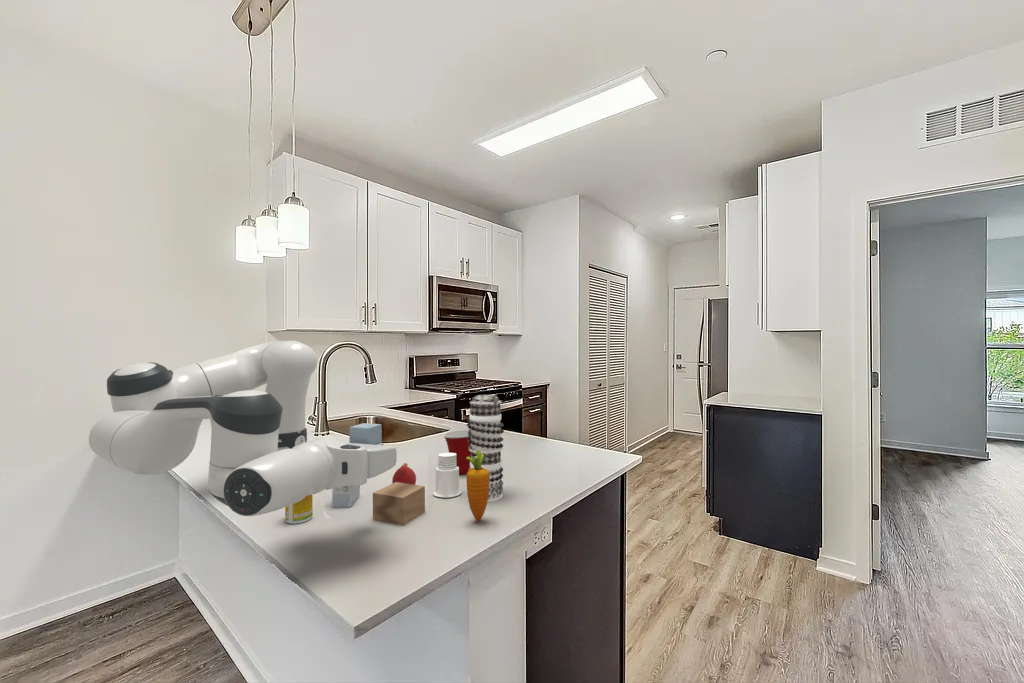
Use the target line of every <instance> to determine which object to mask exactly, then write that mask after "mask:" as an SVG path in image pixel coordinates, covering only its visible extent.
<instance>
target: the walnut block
mask: <svg viewBox="0 0 1024 683" xmlns="http://www.w3.org/2000/svg"><path fill="white" fill-rule="evenodd" d="M425 512H426V487H425V485H419V484H415V485H413V484H406V483H399V482H395V483H391V484H388V485H387V486H385V487H382V488H380V489H378V490H376V491H374V492H372V520H373V521H377V522H380V523H381V522H383V523H386V524H392V525H398V526H405V525H406V524H408V523H410V522H411V521H413V520H415V519H416V518H418V517H419V516H421V515H423V514H424V513H425Z"/></svg>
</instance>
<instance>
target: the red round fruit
mask: <svg viewBox="0 0 1024 683" xmlns="http://www.w3.org/2000/svg"><path fill="white" fill-rule="evenodd" d="M391 482H392V483H391V484H393V483H395V482H399V483H406V484H413V485H417V475H416V473H415V472H414V470H413V469H412V468H411V467H409V466H408V463H406V462H404V463H402V464H401V466H400V467H399V468H398V469H397V470H395V472H394V473H393V476H392V481H391Z"/></svg>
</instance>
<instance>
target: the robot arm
mask: <svg viewBox="0 0 1024 683" xmlns="http://www.w3.org/2000/svg"><path fill="white" fill-rule="evenodd" d="M316 354H317V353H316V352H315V351H314V350H313V348H312V347H311V346H309V345H307V344H306V343H303V342H302V341H301V342H300V341H297V340H270V341H266V342H263V343H260V344H256V345H253V346H250V347H246V348H243V349H240V350H237V351H234V352H231V353H228V354H224V355H221V356H217V357H212V358H209V359H205V360H204V359H203V360H201V361H198V362H193V363H190V364H187V365H184V366H181V367H176V368H174V369H168V368H167V366H164V365H162V364H160V363H157V362H149V361H148V362H135V363H131V364H128V365H125V366H122V367H120V368H118V369H116V370H114V371H113V372H112V373H111V374H110V375H109V376H108V377H107V379H106V391H107V395H108V396H110V402H111V406H112V408H111V409H112V412H111V413H109V414H107V415H104V416H103V417H101V418H100V419H98V420H97V421H96V423H94V425H93V426H92V427H91V430H90V432H89V435H88V444H89V447H90V449H91V450H92V452H93V453H94V454H95V455H96V456H97V457H98V458H100V459H101V460H103V461H104V462H106V463H108V464H110V465H112V466H114V467H116V468H118V469H120V470H123V471H127V472H129V473H133V474H137V475H146V476H147V475H149V476H151V475H153V476H154V475H160V474H163V473H167V472H169V471H171V470H173V469H175V468H176V467H178V466H179V465H181V464H182V463H183V462H184V461H185V460H186V459H188V458H189V456H190V455H191V454H192V452H193V450H194V448H195V446H196V443H197V439H198V434H199V431H200V427H201V425H202V422H203V421H204V420H209V421H210V427H211V433H210V434H211V436H210V452H209V453H210V454H209V463H208V465H209V466H208V481H207V484H208V493H209V494H210V495H211V496H212V497H213V498H215V499H216V500H217V501H218V502H220V503H222V504H223V505H225V507H226V506H227V507H228V508H229V509H230V511H232V512H234V513H235V514H237V515H239V516H243V517H256V516H260V515H261V516H262V515H265V514H268V513H273V512H275V511H279V510H282V509H285V507H287V506H289V505H292V504H294V503H296V502H299V501H300V500H302V499H303V498H305V497H306V496H307V495H312V496H313V495H316V494H319V493H320V492H322V491H325V490H326V491H328V490H332V489H333V488H337V487H348V486H360V487H361V486H363V485H365V484H367V481H368V479H371V478H375V477H378V476H380V475H382V474H384V473H385V472H387V471H389V470H391V469H393V468H395V466H396V465H397V456H398V455H397V448H396V446H394V445H385V444H384V442H383V443H376V444H373V445H372V444H359V443H350V441H348V442H344V441H343V442H342V441H338V440H337V439H335V438H333V437H329V436H328V437H327V436H326V437H325V436H324V437H320V438H317V439H314V440H313V439H312V440H308V429H307V427H306V401H307V400H306V399H307V394H308V389H309V384H310V381H311V376H312V375H313V373H314V372H315V370H316V368H317V364H318V357H317V355H316ZM263 385H266V386H265V391H263V390H257V389H256V388H260V387H261V386H263Z"/></svg>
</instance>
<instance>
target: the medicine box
mask: <svg viewBox="0 0 1024 683" xmlns="http://www.w3.org/2000/svg"><path fill="white" fill-rule="evenodd" d="M360 487H361V486H348V487H337V488H333V489H331V490H332V492H331V493H332V498H331V499H332V500H331V501H332V503H331V504H332V508H351V507H352V506H353V505H354V503H355V502H356V500H357V499H358V497H359V496H360V493H361V492H360V491H361V488H360Z"/></svg>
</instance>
